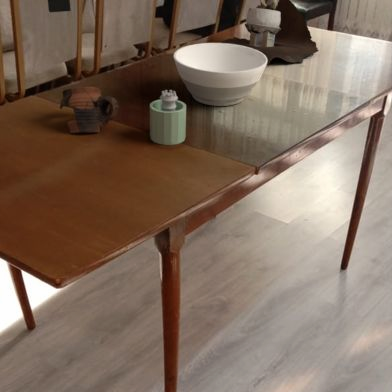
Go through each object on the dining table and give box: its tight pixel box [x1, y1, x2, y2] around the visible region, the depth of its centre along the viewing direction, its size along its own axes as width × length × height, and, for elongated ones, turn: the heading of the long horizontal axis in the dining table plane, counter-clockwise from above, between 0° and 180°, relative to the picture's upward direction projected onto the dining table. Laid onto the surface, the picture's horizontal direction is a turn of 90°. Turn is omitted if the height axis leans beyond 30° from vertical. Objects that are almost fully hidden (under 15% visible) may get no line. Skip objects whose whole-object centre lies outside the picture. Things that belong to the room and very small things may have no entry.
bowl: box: [173, 42, 267, 107], centre depth 132 cm, size 19×20×8 cm
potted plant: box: [221, 0, 320, 67], centre depth 155 cm, size 20×19×25 cm
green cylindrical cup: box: [149, 99, 187, 146], centre depth 116 cm, size 7×7×6 cm
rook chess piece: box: [159, 89, 179, 111], centre depth 115 cm, size 4×4×8 cm
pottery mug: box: [59, 86, 120, 134], centre depth 119 cm, size 12×10×8 cm
